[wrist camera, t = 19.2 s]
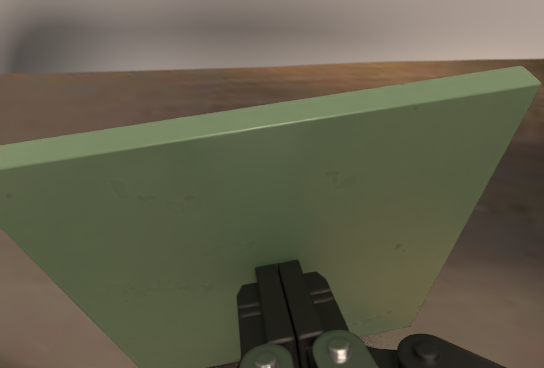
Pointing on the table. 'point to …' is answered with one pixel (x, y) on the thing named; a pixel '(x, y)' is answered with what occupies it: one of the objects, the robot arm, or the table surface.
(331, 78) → the table surface
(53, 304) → the table surface
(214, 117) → the bin lid
